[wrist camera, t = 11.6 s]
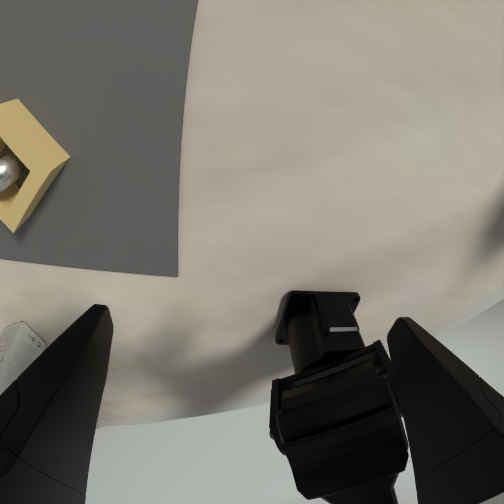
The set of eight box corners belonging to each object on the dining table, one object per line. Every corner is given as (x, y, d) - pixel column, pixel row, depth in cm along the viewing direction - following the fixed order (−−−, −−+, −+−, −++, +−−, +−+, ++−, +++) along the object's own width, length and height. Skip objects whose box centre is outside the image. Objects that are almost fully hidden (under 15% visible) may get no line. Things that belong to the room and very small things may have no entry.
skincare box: (22, 318, 24) (-18, 409, 14) (49, 344, 27) (17, 434, 17) (2, 329, 25) (-33, 408, 15) (26, 352, 28) (-3, 430, 18)
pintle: (33, 173, 16) (6, 193, 13) (14, 174, 16) (-12, 194, 13) (30, 146, 15) (1, 163, 12) (11, 148, 15) (-18, 165, 12)
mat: (178, 274, 22) (177, 276, 22) (-40, 250, 19) (-42, 252, 18) (211, -64, 9) (211, -65, 9) (-61, 22, 5) (-63, 22, 5)
